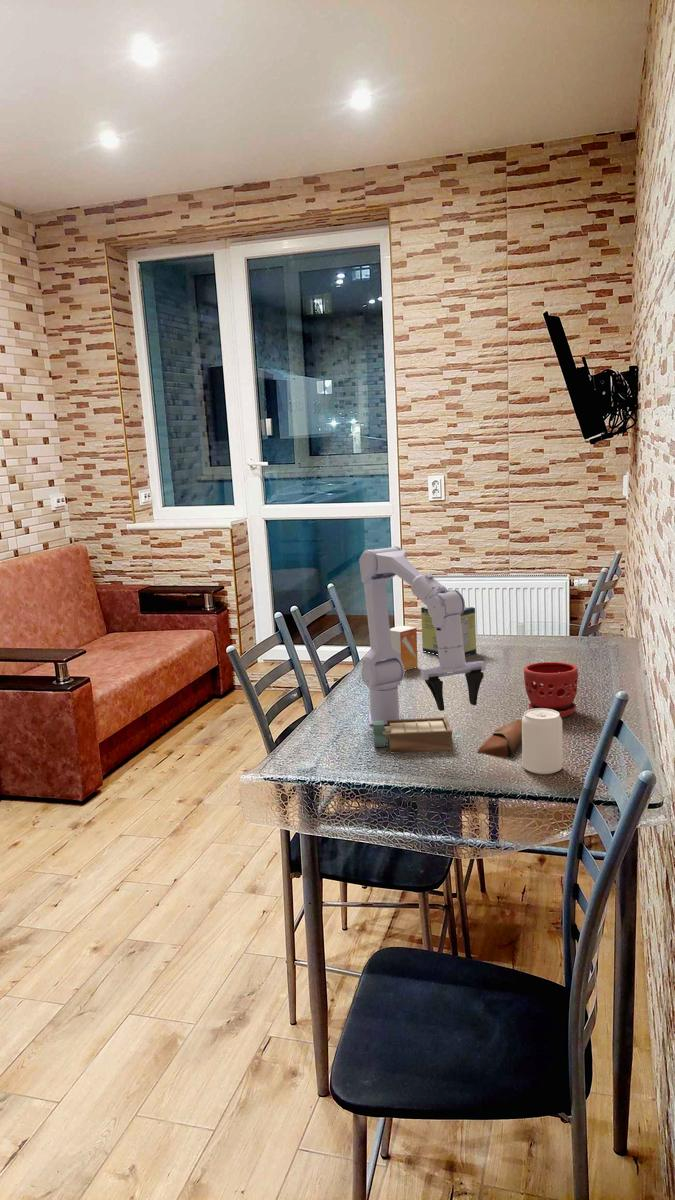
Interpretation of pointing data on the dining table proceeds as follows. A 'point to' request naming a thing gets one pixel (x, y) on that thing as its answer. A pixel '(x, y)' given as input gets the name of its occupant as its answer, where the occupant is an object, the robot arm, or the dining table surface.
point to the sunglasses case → (504, 740)
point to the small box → (405, 644)
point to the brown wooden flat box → (420, 738)
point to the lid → (403, 729)
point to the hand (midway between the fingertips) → (457, 707)
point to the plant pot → (552, 686)
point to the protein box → (467, 631)
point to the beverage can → (542, 741)
